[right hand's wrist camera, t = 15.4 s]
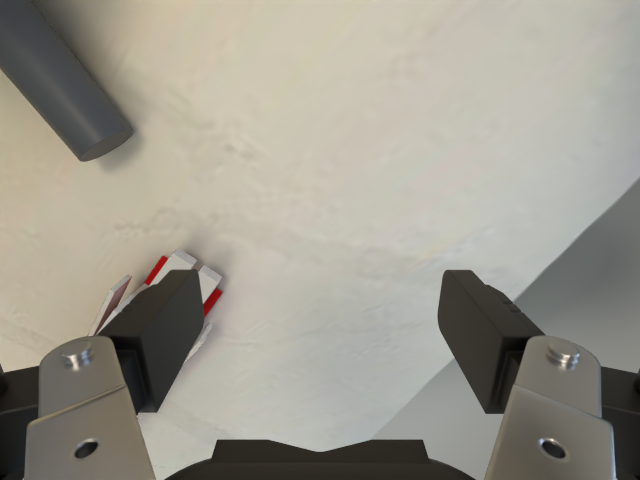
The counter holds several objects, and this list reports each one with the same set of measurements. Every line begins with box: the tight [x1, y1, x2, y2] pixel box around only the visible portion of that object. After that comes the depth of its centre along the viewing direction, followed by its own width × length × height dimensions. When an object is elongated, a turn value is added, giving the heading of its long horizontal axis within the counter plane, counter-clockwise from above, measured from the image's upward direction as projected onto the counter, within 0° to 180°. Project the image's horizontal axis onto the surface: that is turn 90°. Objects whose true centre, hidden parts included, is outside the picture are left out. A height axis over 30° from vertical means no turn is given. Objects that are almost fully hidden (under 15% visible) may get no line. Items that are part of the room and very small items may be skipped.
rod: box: [0, 0, 133, 162], centre depth 33 cm, size 26×6×6 cm, turn 32°
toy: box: [88, 248, 222, 366], centre depth 44 cm, size 12×13×30 cm
